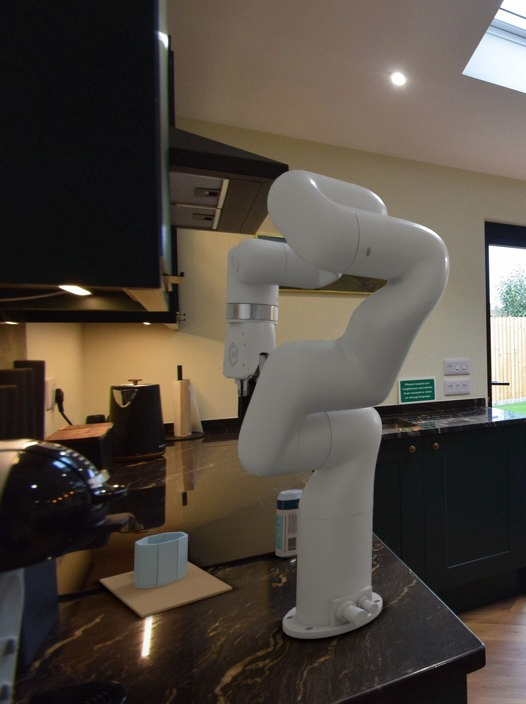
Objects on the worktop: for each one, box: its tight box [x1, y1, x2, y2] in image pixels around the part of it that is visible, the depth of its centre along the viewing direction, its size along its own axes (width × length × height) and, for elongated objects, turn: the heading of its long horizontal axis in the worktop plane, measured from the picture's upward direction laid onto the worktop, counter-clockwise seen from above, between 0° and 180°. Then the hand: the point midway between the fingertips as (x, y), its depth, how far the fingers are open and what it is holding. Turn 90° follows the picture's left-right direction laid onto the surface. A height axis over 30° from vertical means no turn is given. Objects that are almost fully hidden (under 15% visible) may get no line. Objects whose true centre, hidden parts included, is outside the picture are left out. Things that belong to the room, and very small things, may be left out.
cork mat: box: [99, 560, 233, 619], centre depth 86 cm, size 22×11×1 cm, turn 57°
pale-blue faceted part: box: [133, 531, 189, 588], centre depth 89 cm, size 7×6×11 cm
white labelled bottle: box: [275, 488, 304, 559], centre depth 101 cm, size 5×5×12 cm
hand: (250, 417), depth 93 cm, fingers closed
